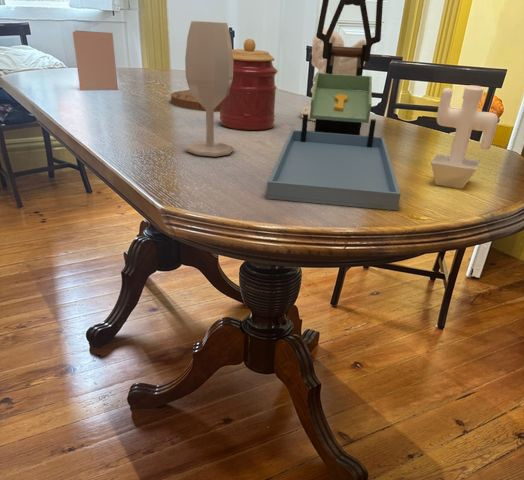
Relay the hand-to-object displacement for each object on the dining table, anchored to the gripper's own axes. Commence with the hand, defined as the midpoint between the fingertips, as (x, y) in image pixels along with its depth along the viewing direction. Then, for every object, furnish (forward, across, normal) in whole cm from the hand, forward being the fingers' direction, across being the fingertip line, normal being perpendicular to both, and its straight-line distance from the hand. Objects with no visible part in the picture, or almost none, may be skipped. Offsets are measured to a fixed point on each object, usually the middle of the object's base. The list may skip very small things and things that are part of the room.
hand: (343, 76), depth 118 cm
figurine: (+11, -20, +42) cm, 48 cm away
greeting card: (+11, +74, -31) cm, 81 cm away
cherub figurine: (+11, +4, -12) cm, 17 cm away
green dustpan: (+3, 0, +9) cm, 10 cm away
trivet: (+11, +35, -22) cm, 43 cm away
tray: (+11, 0, +40) cm, 42 cm away
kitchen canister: (+11, +21, +6) cm, 25 cm away
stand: (+11, 0, +15) cm, 18 cm away
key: (+4, 0, +15) cm, 16 cm away
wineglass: (+11, +24, +35) cm, 43 cm away
